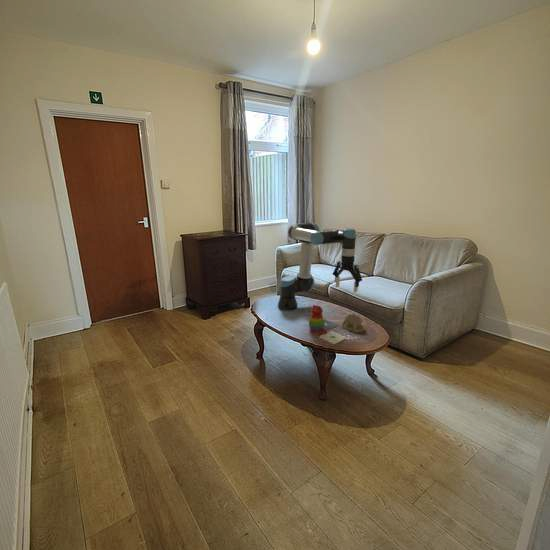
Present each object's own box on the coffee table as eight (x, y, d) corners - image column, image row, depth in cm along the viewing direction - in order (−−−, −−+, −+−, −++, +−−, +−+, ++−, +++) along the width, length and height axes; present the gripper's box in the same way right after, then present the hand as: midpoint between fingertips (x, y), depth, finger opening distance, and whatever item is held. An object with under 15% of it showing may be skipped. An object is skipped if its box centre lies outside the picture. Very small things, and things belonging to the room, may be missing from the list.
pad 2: (319, 337, 194) (319, 336, 194) (331, 331, 201) (331, 330, 201) (334, 344, 185) (334, 343, 185) (346, 338, 192) (346, 337, 192)
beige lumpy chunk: (365, 327, 208) (366, 313, 205) (361, 333, 198) (362, 319, 196) (344, 322, 214) (345, 309, 212) (339, 329, 205) (340, 315, 202)
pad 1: (313, 324, 211) (313, 323, 211) (324, 319, 219) (324, 319, 219) (326, 330, 203) (326, 329, 202) (338, 325, 210) (338, 324, 210)
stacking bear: (328, 332, 198) (328, 306, 194) (315, 336, 194) (315, 310, 189) (318, 327, 208) (318, 301, 203) (305, 330, 203) (305, 304, 198)
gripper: (327, 252, 192) (326, 285, 198) (362, 259, 173) (359, 295, 179) (335, 251, 197) (334, 283, 202) (369, 257, 178) (367, 292, 184)
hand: (346, 289), depth 191 cm, fingers open, 13 cm apart
